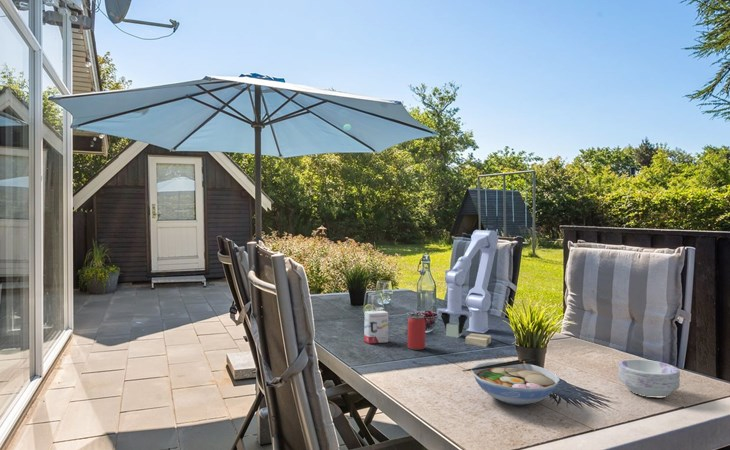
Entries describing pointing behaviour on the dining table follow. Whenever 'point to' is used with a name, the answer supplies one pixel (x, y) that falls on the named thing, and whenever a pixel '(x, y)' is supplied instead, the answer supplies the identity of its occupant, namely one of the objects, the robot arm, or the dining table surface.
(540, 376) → the ramen bowl
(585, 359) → the dining table surface
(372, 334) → the ink box
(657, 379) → the paper bowls
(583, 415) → the dining table surface
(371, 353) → the dining table surface
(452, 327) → the cube
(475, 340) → the pedestal
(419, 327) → the beer can
